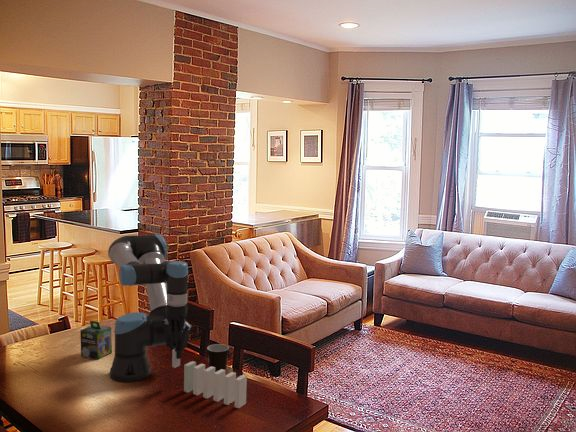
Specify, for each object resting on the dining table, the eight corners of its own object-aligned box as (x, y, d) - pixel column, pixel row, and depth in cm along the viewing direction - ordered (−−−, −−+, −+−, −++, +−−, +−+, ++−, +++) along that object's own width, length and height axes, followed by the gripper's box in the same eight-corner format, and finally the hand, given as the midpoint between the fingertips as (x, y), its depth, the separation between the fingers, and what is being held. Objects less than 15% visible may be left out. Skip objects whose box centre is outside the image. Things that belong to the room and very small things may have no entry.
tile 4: (213, 400, 186) (213, 373, 185) (220, 395, 190) (221, 369, 189) (217, 401, 185) (218, 374, 184) (224, 397, 189) (225, 370, 188)
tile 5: (223, 403, 184) (224, 376, 183) (231, 399, 188) (231, 371, 187) (228, 405, 183) (228, 377, 182) (235, 400, 187) (236, 372, 186)
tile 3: (203, 397, 188) (203, 370, 187) (210, 392, 192) (211, 366, 191) (207, 398, 187) (207, 371, 186) (214, 394, 191) (215, 367, 190)
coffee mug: (224, 377, 206) (225, 352, 205) (203, 375, 207) (203, 350, 206) (233, 366, 217) (234, 342, 216) (213, 364, 219) (214, 340, 218)
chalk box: (112, 352, 227) (112, 319, 226) (97, 360, 219) (97, 325, 217) (95, 349, 231) (95, 316, 229) (79, 356, 222) (79, 322, 220)
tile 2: (193, 394, 190) (193, 367, 189) (200, 389, 194) (201, 363, 193) (197, 395, 189) (197, 368, 188) (204, 391, 193) (205, 364, 192)
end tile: (183, 391, 192) (184, 364, 191) (191, 387, 196) (192, 361, 195) (187, 392, 191) (188, 366, 190) (195, 388, 195) (196, 362, 194)
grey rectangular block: (234, 407, 182) (235, 379, 181) (241, 402, 185) (242, 374, 184) (238, 408, 181) (239, 380, 180) (246, 403, 185) (246, 375, 184)
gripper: (156, 303, 194) (155, 365, 196) (183, 309, 187) (183, 373, 190) (170, 299, 200) (169, 359, 203) (197, 304, 194) (196, 366, 196)
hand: (176, 366), depth 196 cm, fingers closed
